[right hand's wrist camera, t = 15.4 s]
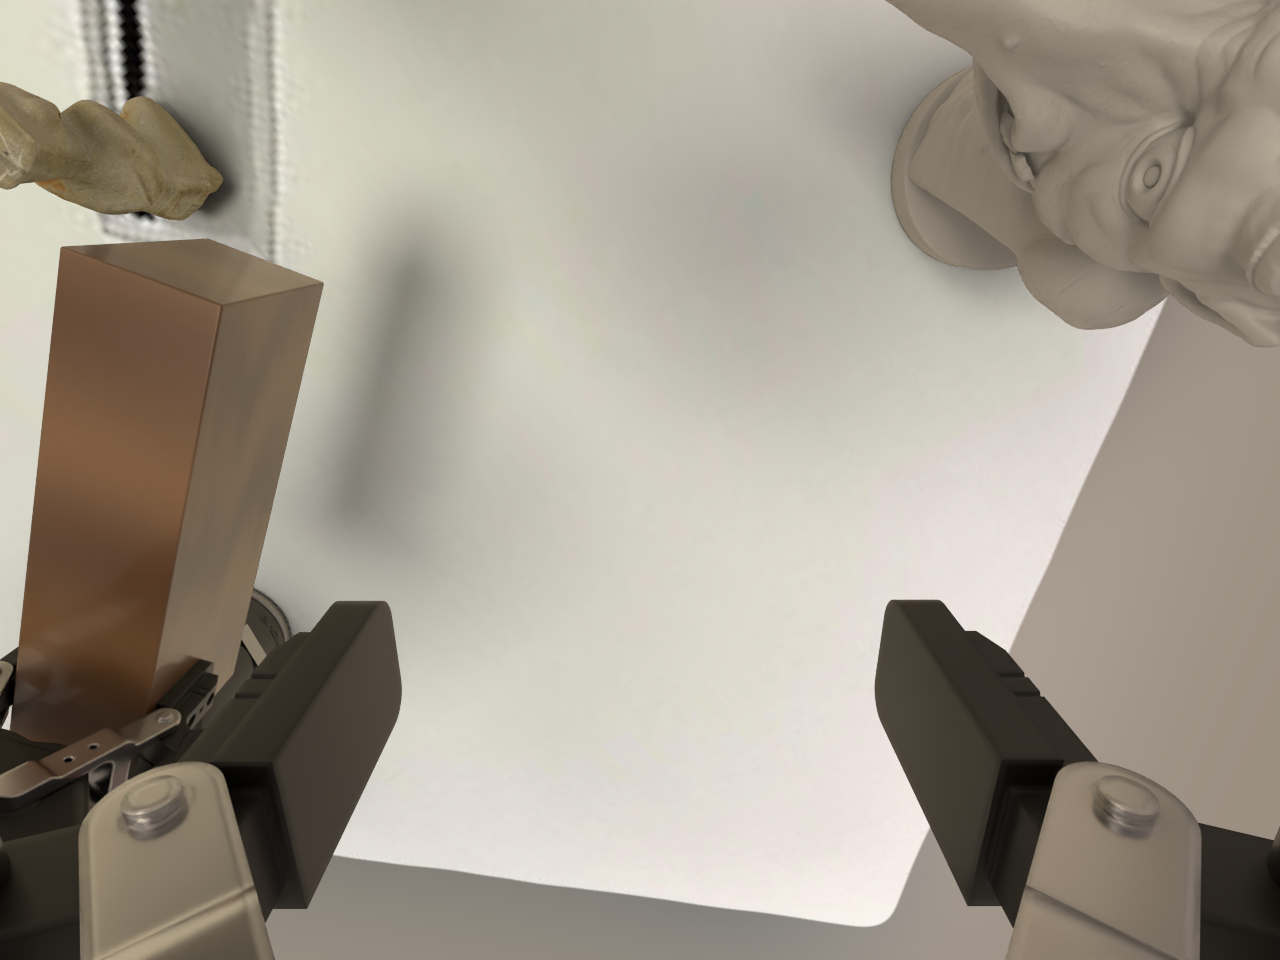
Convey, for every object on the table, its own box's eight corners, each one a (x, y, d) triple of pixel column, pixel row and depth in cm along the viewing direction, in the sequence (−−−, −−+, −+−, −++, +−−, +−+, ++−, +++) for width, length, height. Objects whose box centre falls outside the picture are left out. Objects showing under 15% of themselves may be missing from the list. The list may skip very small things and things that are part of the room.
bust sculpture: (841, -109, 42) (1562, -1253, 9) (1148, 106, 46) (2409, -154, 13) (706, 153, 47) (859, 17, 14) (993, 325, 51) (1627, 530, 18)
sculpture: (166, 84, 45) (-46, 27, 31) (249, 181, 48) (86, 169, 33) (107, 143, 47) (-121, 113, 33) (191, 235, 49) (10, 245, 35)
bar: (207, 237, 32) (59, 245, 24) (325, 282, 33) (222, 305, 24) (136, 645, 39) (5, 762, 31) (234, 673, 40) (131, 794, 32)
